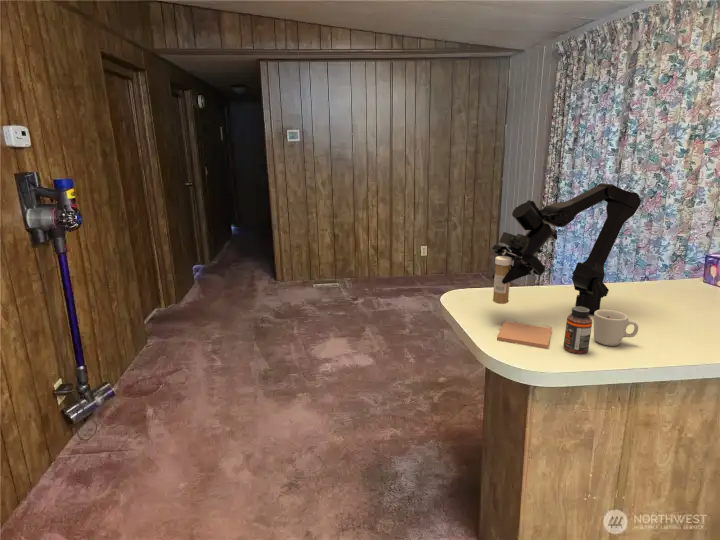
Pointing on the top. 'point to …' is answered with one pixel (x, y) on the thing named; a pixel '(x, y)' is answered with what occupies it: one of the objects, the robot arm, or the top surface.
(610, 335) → the cup
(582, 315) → the supplement bottle
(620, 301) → the top surface
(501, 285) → the sprinkles bottle
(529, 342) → the terracotta tile
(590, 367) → the top surface
